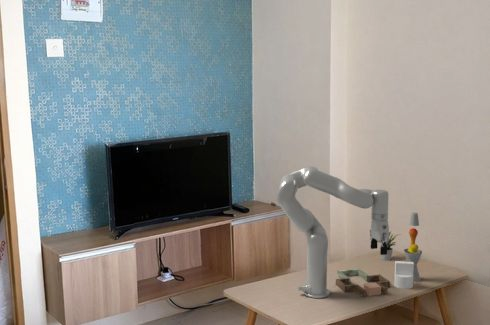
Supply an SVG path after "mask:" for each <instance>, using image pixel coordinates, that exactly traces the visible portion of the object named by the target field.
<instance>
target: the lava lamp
mask: <svg viewBox="0 0 490 325" xmlns="http://www.w3.org/2000/svg"><path fill="white" fill-rule="evenodd" d="M419 222H420V221H419V214H418V212H411V214H410V218H409V222H408V223H409V224H408V225H409V226H412V227H413V228H410V229H409V230H408V234H409V237H410V244H409V247H408V248H404V249H403V252H404V253H403V254H404V255H405V256H404V257H405V259H406V262H413V263H414V270H413V283H418V282H420V281H421V276H420V273H419V270H418V263H419V261H420V258H421V256H422V253H423V251H422V250H421V249H419V246H418V244H416V239H417V237H418V235H419V234H418V232H419V231H418V229H416V228H414V227H419V226H420V223H419Z"/></svg>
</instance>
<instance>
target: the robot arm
mask: <svg viewBox="0 0 490 325" xmlns="http://www.w3.org/2000/svg"><path fill="white" fill-rule="evenodd" d="M306 186H308V187H310V188H313V189H314V190H318V191H320V192H322V193H325V194H328V195H331V196H332V197H334V198H336V199H339V200H341V201H343V202H345V203H348V204H350V205H353V206H355V207H357V208H360V209H370V208H371V217H370V218H371V222H370V223H371V224H370V229H369V236H370V239H369V240H370V249H371V250H375V249H376V250H377V249H378V243H379V244H380V248H381V250H380V249H379V251H380V252H379V253H380V256H381V255H387V247H388V244H389V238H390V236H389V232H390V229H389V228H390V226H389V192H388V190H384V189H370V188H369V189H368V188H355V187H353V186H351V185H350V184H347V183H346V182H345V181H344V180H342V179H341V178H338V177H337V176H336V177H335V176H334V175H331V174H329V173H325V172H323V171H320V170H319V169H318V168H317V167H315V166H307V167H304V168H300V169H299V170H296V171H293V172H290V173H287V174H285V175H283V177H282V178H281V179H280V182H279V188H278V191H277V193H276V200H277V204H278V206H279V207H280V209H281V210H282V211H283V213H284V214H285V215H286V217H287V218H288V219H289V220H290V222H291V223H292V225H293V226H294V228H296V230H298V231H299V232H302V233H303V235H305V237H306V240H307V242H306V244H307V246H306V247H307V248H306V282H305V283H304V285H303V286H297V287H296V290H297V291H301V292H302V293H303V294H304V296H306V297H309V298H313V299H323V298H326V297H329V296H330V294H331V291H330V290H329V289H328V286H327V284H328V283H327V280H328V249H329V248H328V246H329V238H328V234H327V232H326V229H325V228H324V226H323V225H322V224H321V223H320V221H319V220H318V219H317V218H316V217H315V215H314V214H313V212H312V211H311V210H309V209H308V208H304V207H303V206H302V204H301V203H300V201H299V200H298V199H297V197H296V194H297V192H298V189H301V188H303V187H306ZM377 241H379V242H377Z"/></svg>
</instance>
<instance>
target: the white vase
mask: <svg viewBox="0 0 490 325" xmlns="http://www.w3.org/2000/svg"><path fill="white" fill-rule="evenodd" d="M413 270H414V263H413V262H407V261H398V260H396V261H394V283H393V285H394V287H396V288H398V289H403V290H409V289H413V287H414V282H413Z"/></svg>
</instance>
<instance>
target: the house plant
mask: <svg viewBox="0 0 490 325" xmlns="http://www.w3.org/2000/svg"><path fill="white" fill-rule="evenodd" d="M391 233H392V231H390V230H389V244H388V247H387V255H381V254H380V258H381V260H382V261H391V260H392V259H391V258H392V255H393V251H394V250H393V246H396V244H397V242H396V241H395V242H393V240H395V239H396V237H398V236H401V235H402V234H396V235H395V233H393V234H391ZM377 243H380V242H379V241H377ZM380 250H381V247H380V248H379V251H380Z"/></svg>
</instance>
